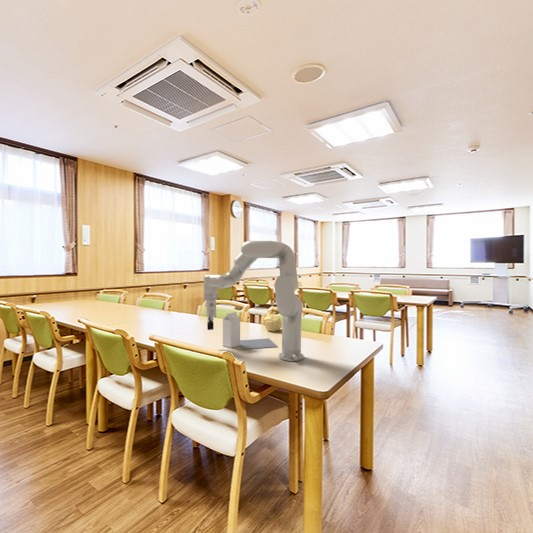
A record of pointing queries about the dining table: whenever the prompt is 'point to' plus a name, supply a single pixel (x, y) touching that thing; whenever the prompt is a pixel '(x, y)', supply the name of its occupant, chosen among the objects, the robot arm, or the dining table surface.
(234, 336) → the milk carton
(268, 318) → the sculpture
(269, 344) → the back mat
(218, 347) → the dining table surface
